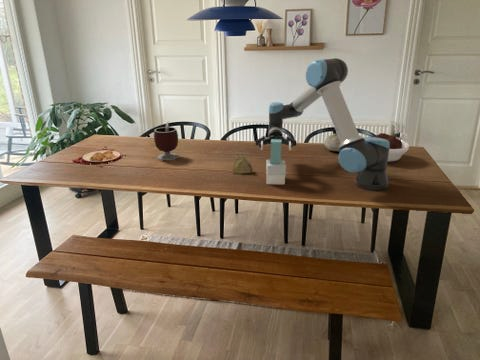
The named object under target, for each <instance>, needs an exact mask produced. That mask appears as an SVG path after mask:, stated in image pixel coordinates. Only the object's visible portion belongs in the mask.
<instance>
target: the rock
mask: <svg viewBox="0 0 480 360" xmlns="http://www.w3.org/2000/svg"><path fill="white" fill-rule="evenodd" d="M253 168H254V167H253V166H252V165H251V163H250V162H249V160H248V159H247V158H246V157H245V156H244V155H243V154H241V153H237V155H236V157H235V159H234V164H233V167H232V172H231V174H232V175H234V174H237V175H238V174H241V175H242V174H248V173H249V174H250V173H251V174H252V173H254V169H253Z"/></svg>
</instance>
